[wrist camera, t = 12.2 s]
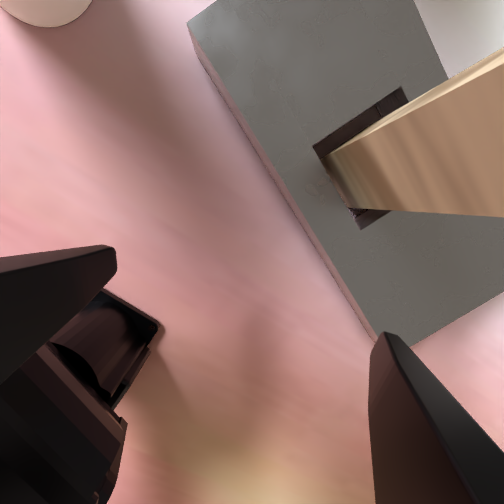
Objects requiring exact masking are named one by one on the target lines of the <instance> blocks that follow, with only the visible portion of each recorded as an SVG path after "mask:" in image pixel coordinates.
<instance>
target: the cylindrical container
mask: <svg viewBox="0 0 504 504" xmlns="http://www.w3.org/2000/svg"><path fill="white" fill-rule="evenodd" d="M91 1H92V0H0V6H1V7H2V8H3V9H5V10H6V11H7V12H8V13H10V14H11V15H12V16H14V17H16V18H17V19H19V20H21V21H23V22H25V23H28V24H31V25H33V26H39V27H58V26H61V25H65V24H68V23H70V22H71V21H73V20H75V19H76V18H78V17H79V16H80V15H81V14H82V13H83V12H84V11H85V10H86V9H87V8H88V6H89V4H90V3H91Z"/></svg>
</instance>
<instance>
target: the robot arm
mask: <svg viewBox="0 0 504 504" xmlns="http://www.w3.org/2000/svg"><path fill="white" fill-rule="evenodd" d="M116 272H117V259H116V251H115V249H114V248H113V247H110V246H107V245H94V246H87V247H79V248H71V249H63V250H55V251H47V252H39V253H32V254H24V255H16V256H8V257H0V504H107V502H108V500H109V498H110V496H111V494H112V492H113V489H114V487H115V484H116V481H117V477H118V472H119V467H120V462H121V456H122V451H123V446H124V441H125V435H126V430H127V425H128V423H127V422H126V421H125V420H124V419H123V418H122V417H120V418H119V416H118V415H117V414H116V413H115V412H114V411H113V410H114V409H115V408H116V406H117V405H118V403H119V402H120V400H121V399H122V397H123V396H124V395H125V393H126V392H127V390H128V389H129V387H130V386H131V384H132V382H133V381H134V379H135V377H136V376H137V374H138V372H139V371H140V369H141V367H142V366H143V364H144V362H145V361H146V359H147V357H148V356H149V354H150V348H148V347H147V345H148V344H149V342H150V341H151V340H152V338H153V337H154V335H155V334H156V332H157V331H158V329H159V327H160V324H159V322H158V321H157V320H155V319H153V318H152V317H150V316H148V315H147V314H145V313H143V312H142V311H140V310H138V309H137V308H135V307H133V306H132V305H130V304H128V303H127V302H125V301H123V300H122V299H120V298H118V297H117V296H115V295H113V294H112V293H110V292H108V291H107V290H105V289H103V287H104V286H105V285H106V284H107V283H108V282H109V281H110V279H111V278H112V277H113V276H114V275H115V274H116ZM150 325H153V326H154V327H155V328H154V329H153V328H151V327H150ZM368 416H369V430H370V442H371V454H372V466H373V478H374V490H375V502H376V504H504V452H503V451H502V450H501V449H500V448H499V447H498V446H497V444H496V443H495V442H494V441H493V440H492V439H491V438H490V437H489V436H488V434H487V433H486V432H485V431H484V430H483V429H482V428H481V427H480V426H479V424H478V423H477V422H476V421H475V420H474V419H473V418H472V417H471V416H470V414H469V413H468V412H467V411H466V410H465V409H464V408H463V407H462V406H461V404H460V403H459V402H458V401H457V400H456V399H455V398H454V397H453V396H452V394H451V393H450V392H449V391H448V390H447V389H446V388H445V387H444V386H443V384H442V383H441V382H440V381H439V380H438V379H437V378H436V377H435V376H434V374H433V373H432V372H431V371H430V370H429V369H428V368H427V367H426V366H425V364H424V363H423V362H422V361H421V360H420V359H419V358H418V357H417V356H416V354H415V353H414V352H413V351H412V350H411V349H410V348H409V347H408V346H407V344H406V343H405V342H404V341H403V340H402V339H401V338H400V337H399V336H398V335H396V334H392V333H389V332H386V331H383V332H382V333H381V334H380V335H379V337H378V339H377V341H376V343H375V345H374V347H373V349H372V352H371V355H370V368H369V395H368Z"/></svg>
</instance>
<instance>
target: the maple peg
mask: <svg viewBox="0 0 504 504" xmlns="http://www.w3.org/2000/svg"><path fill="white" fill-rule="evenodd" d="M320 161H321V163H322V165H323V166H324V168H325V170H326V172H327V173H328V175H329V177H330V178H331V180H332V182H333V184H334V185H335V187H336V189H337V190H338V192H339V194H340V195H341V197H342V199H343V201H344V202H345V204H346V206H347V207H348V208H363V209H379V210H395V211H411V212H427V213H443V214H459V215H475V216H491V217H504V47H503V48H501V49H500V50H498V51H496V52H495V53H493V54H491V55H489V56H488V57H486V58H484V59H483V60H481V61H479V62H477V63H476V64H474V65H472V66H471V67H469V68H467V69H466V70H464V71H462V72H460V73H459V74H457V75H455V76H454V77H452V78H450V79H448V80H447V81H445V82H443V83H442V84H440V85H438V86H436V87H435V88H433V89H431V90H430V91H428V92H426V93H424V94H423V95H421V96H419V97H418V98H416V99H414V100H413V101H411V102H409V103H407V104H406V105H404V106H402V107H401V108H399V109H397V110H395V111H394V112H392V113H390V114H389V115H387V116H385V117H383V118H382V119H380V120H378V121H377V122H375V123H373V124H372V125H370V126H368V127H367V128H365V129H364V130H362V131H361V132H359V133H358V134H356V135H355V136H354V137H352V138H351V139H349V140H348V141H346V142H345V143H343V144H342V145H340V146H339V147H337V148H336V149H335V150H333V151H332V152H330V153H329V154H327V155H326V156H324V157H323V158H321V159H320Z"/></svg>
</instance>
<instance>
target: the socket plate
mask: <svg viewBox="0 0 504 504" xmlns="http://www.w3.org/2000/svg"><path fill="white" fill-rule="evenodd" d="M187 26H188V29H189V33H190V36H191V39H192V42H193V46H194V49H195V52H196V54H197V56H198V58H199V59H200V61H201V63H202V64H203V66H204V67H205V69H206V71H207V72H208V74H209V76H210V77H211V79H212V80H213V82H214V84H215V85H216V87H217V89H218V90H219V92H220V93H221V95H222V97H223V98H224V100H225V102H226V103H227V105H228V106H229V108H230V110H231V111H232V113H233V115H234V116H235V118H236V119H237V121H238V123H239V124H240V126H241V128H242V129H243V131H244V133H245V134H246V136H247V137H248V139H249V141H250V142H251V144H252V146H253V147H254V149H255V150H256V152H257V154H258V155H259V157H260V159H261V160H262V162H263V163H264V165H265V167H266V168H267V170H268V172H269V173H270V175H271V176H272V178H273V180H274V181H275V183H276V185H277V186H278V188H279V189H280V191H281V193H282V194H283V196H284V198H285V199H286V201H287V202H288V204H289V206H290V207H291V209H292V211H293V212H294V214H295V215H296V217H297V219H298V220H299V222H300V224H301V225H302V227H303V228H304V230H305V232H306V233H307V235H308V237H309V238H310V240H311V241H312V243H313V245H314V246H315V248H316V250H317V251H318V253H319V254H320V256H321V258H322V259H323V261H324V263H325V264H326V266H327V268H328V269H329V271H330V272H331V274H332V276H333V277H334V279H335V281H336V282H337V284H338V285H339V287H340V289H341V290H342V292H343V294H344V295H345V297H346V298H347V300H348V302H349V303H350V305H351V307H352V308H353V310H354V311H355V313H356V315H357V316H358V318H359V320H360V321H361V323H362V324H363V326H364V328H365V329H366V331H367V333H368V334H369V336H370V337H371V338H372V339H373V340H374V341H375V342H376V341H377V339H378V337H379V335H380V334H381V333H382V332H383V331H386V332H389V333H392V334H396V335H398V336H399V337H400V338H401V339H402V340H403V341H404V342H405V343H406V344H407V346H408V347H411V346H412V345H414V344H416V343H417V342H419V341H421V340H422V339H424V338H426V337H428V336H429V335H431V334H433V333H434V332H436V331H438V330H439V329H441V328H443V327H444V326H446V325H448V324H449V323H451V322H453V321H455V320H456V319H458V318H460V317H461V316H463V315H465V314H466V313H468V312H470V311H471V310H473V309H475V308H477V307H478V306H480V305H482V304H483V303H485V302H487V301H488V300H490V299H492V298H493V297H495V296H497V295H499V294H500V293H502V292H504V217H491V216H475V215H459V214H443V213H427V212H411V211H395V210H379V209H369V210H367V211H366V212H364V213H362V214H361V215H359V216H358V217H356V218H355V219H353V217H352V216H351V214H350V212H349V210H348V209H347V207H346V205H345V203H344V202H343V200H342V198H341V196H340V194H339V193H338V191H337V189H336V187H335V186H334V184H333V182H332V180H331V179H330V177H329V175H328V173H327V172H326V170H325V168H324V166H323V165H322V163H321V161H320V159H319V158H318V156H317V154H316V152H315V151H314V149H313V146H314V145H316V144H317V143H319V142H320V141H322V140H323V139H325V138H326V137H328V136H329V135H331V134H332V133H334V132H335V131H337V130H338V129H339V128H341V127H342V126H344V125H345V124H347V123H348V122H350V121H351V120H353V119H354V118H356V117H357V116H359V115H360V114H362V113H363V112H365V111H366V110H368V109H369V108H371V107H372V106H374V105H376V107H377V109H378V111H379V113H380V115H381V117H382V118H383V117H385V116H387V115H389V114H390V113H392V112H394V111H395V110H397V109H399V108H401V107H402V106H404V105H406V104H407V103H409V102H411V101H413V100H414V99H416V98H418V97H419V96H421V95H423V94H424V93H426V92H428V91H430V90H431V89H433V88H435V87H436V86H438V85H440V84H442V83H443V82H445V81H447V80H448V77H447V75H446V73H445V70H444V68H443V66H442V64H441V61H440V59H439V57H438V55H437V53H436V50H435V48H434V46H433V44H432V41H431V39H430V37H429V35H428V32H427V30H426V28H425V26H424V23H423V21H422V19H421V17H420V14H419V12H418V10H417V8H416V5H415V3H414V1H413V0H217V1H215V2H214V3H213V4H211V5H210V6H209V7H207V8H206V9H205V10H203V11H202V12H201V13H199V14H198V15H196V16H195V17H194V18H192V19H191V20H190V21H188V22H187Z"/></svg>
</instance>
